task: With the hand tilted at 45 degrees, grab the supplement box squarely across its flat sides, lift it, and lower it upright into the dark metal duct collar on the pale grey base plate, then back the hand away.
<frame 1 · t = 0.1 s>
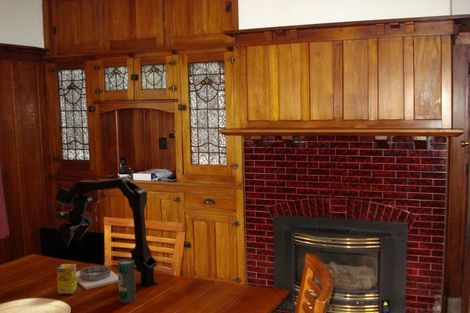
hand: (72, 243, 225), 15 cm above the table, tool pointing down, fingers open, 9 cm apart
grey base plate: (95, 278, 225), on the table
can: (127, 300, 200), on the table
supplement box: (67, 293, 209), on the table
metal duct collar: (95, 273, 225), on the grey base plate, point 2 cm above the table
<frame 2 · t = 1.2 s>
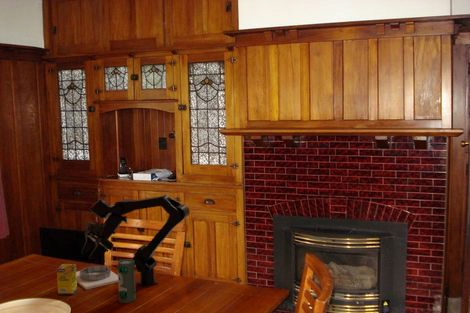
hand: (85, 256, 212), 13 cm above the table, tool tilted 45°, fingers open, 9 cm apart
nothing on the table moved.
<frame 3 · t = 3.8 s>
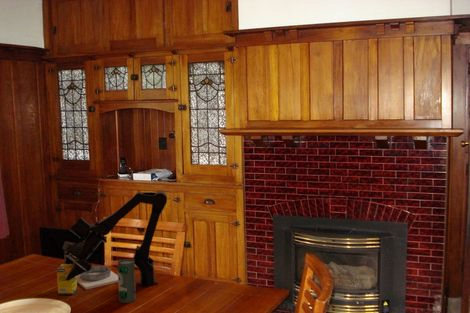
hand: (63, 277, 207), 7 cm above the table, tool tilted 45°, fingers closed on supplement box, 8 cm apart
supplement box: (67, 293, 209), on the table, touching gripper
everything else where it was.
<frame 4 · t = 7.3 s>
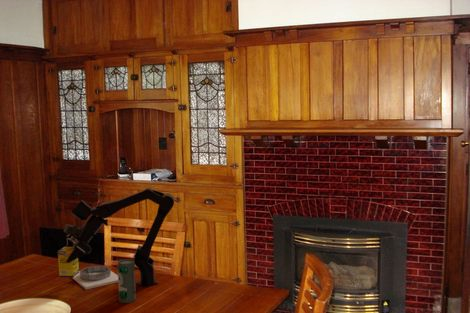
hand: (64, 259, 208), 13 cm above the table, tool tilted 45°, fingers closed on supplement box, 8 cm apart
supplement box: (69, 275, 210), point 6 cm above the table, touching gripper
everything else where it was.
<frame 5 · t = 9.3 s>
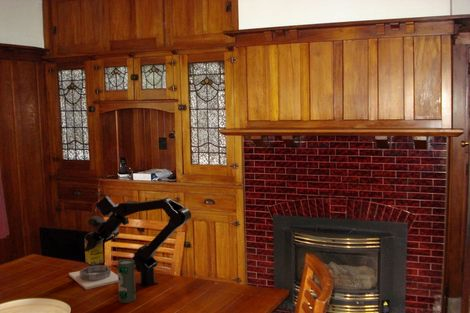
hand: (91, 248, 224), 13 cm above the table, tool tilted 45°, fingers closed on supplement box, 8 cm apart
supplement box: (94, 264, 224), point 6 cm above the table, touching gripper
everything else where it was.
when the fingers open (9 cm above the table, at t = 11.0 s): supplement box drops 1 cm, resting on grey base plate.
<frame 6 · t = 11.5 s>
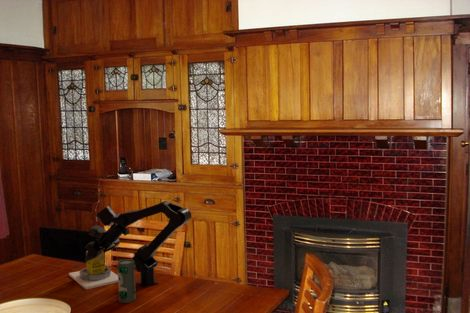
hand: (91, 257, 225), 9 cm above the table, tool tilted 45°, fingers open, 9 cm apart
supplement box: (96, 276, 225), point 1 cm above the table, touching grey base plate
everything else where it was.
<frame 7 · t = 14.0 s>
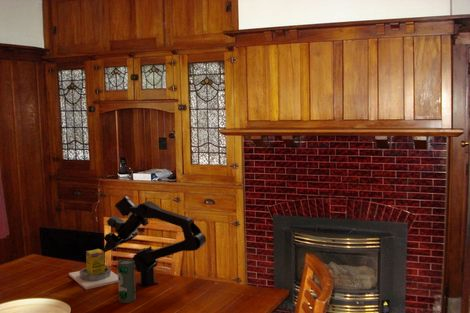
hand: (109, 248, 222), 14 cm above the table, tool tilted 45°, fingers open, 9 cm apart
nothing on the table moved.
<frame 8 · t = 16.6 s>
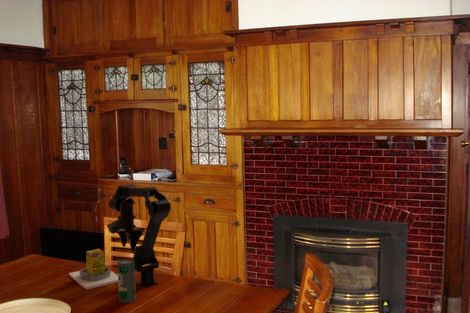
hand: (128, 248, 226), 12 cm above the table, tool pointing down, fingers open, 9 cm apart
nothing on the table moved.
at the end: supplement box 0.3 cm off-centre on the metal duct collar, point 0.8 cm above the metal duct collar's base; supplement box tilted 0°; the gripper is holding nothing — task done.
